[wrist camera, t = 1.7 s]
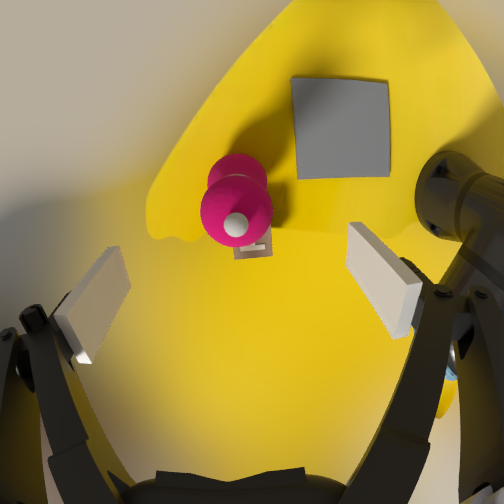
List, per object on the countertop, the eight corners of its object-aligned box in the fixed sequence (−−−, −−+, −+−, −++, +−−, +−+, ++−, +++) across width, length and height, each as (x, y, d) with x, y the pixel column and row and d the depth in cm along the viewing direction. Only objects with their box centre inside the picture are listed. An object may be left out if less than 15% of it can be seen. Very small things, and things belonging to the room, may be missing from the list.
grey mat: (384, 84, 32) (387, 83, 32) (387, 175, 38) (389, 176, 38) (290, 78, 32) (291, 78, 32) (297, 178, 38) (298, 179, 38)
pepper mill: (216, 146, 36) (192, 169, 18) (269, 156, 37) (299, 189, 19) (206, 197, 39) (179, 265, 21) (258, 206, 40) (274, 281, 22)
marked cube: (266, 207, 40) (270, 219, 35) (268, 240, 42) (272, 256, 38) (231, 210, 40) (230, 223, 35) (235, 244, 42) (234, 260, 38)
